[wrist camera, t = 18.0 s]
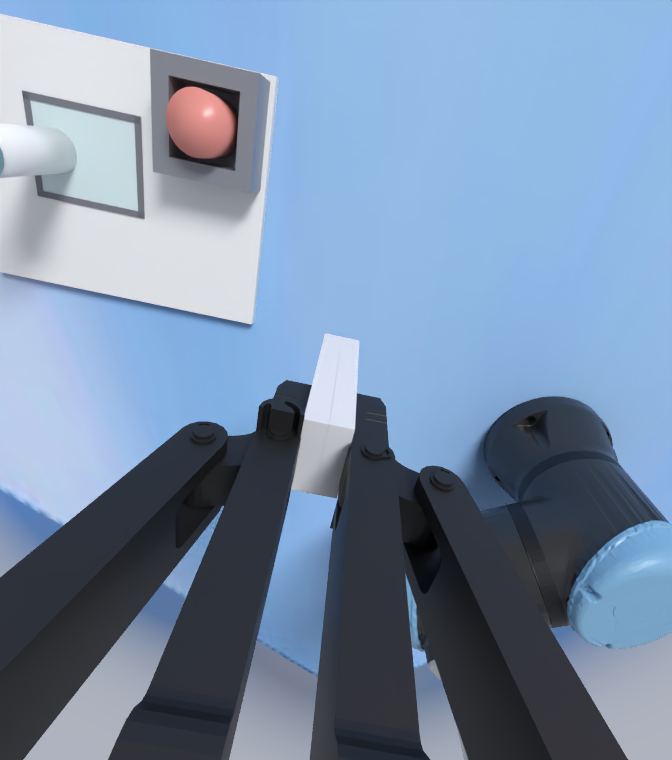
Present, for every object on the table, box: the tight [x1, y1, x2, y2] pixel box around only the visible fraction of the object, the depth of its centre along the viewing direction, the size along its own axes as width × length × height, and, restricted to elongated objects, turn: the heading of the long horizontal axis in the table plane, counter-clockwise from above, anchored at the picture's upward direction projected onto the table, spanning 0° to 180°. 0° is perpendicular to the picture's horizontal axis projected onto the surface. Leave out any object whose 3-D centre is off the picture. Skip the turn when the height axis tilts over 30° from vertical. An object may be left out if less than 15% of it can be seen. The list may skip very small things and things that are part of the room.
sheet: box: [0, 14, 279, 324], centre depth 42 cm, size 24×30×1 cm
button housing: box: [150, 49, 270, 193], centre depth 36 cm, size 9×9×4 cm
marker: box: [0, 123, 77, 178], centre depth 35 cm, size 4×4×12 cm
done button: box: [166, 87, 238, 159], centre depth 35 cm, size 5×5×4 cm
